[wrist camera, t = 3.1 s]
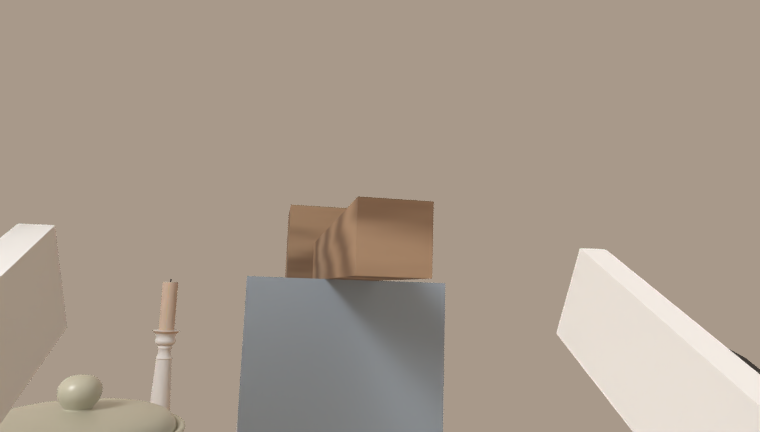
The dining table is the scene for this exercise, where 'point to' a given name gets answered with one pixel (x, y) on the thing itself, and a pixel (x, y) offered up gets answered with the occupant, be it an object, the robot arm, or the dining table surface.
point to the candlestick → (165, 346)
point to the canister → (90, 412)
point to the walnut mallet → (361, 240)
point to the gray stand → (342, 356)
